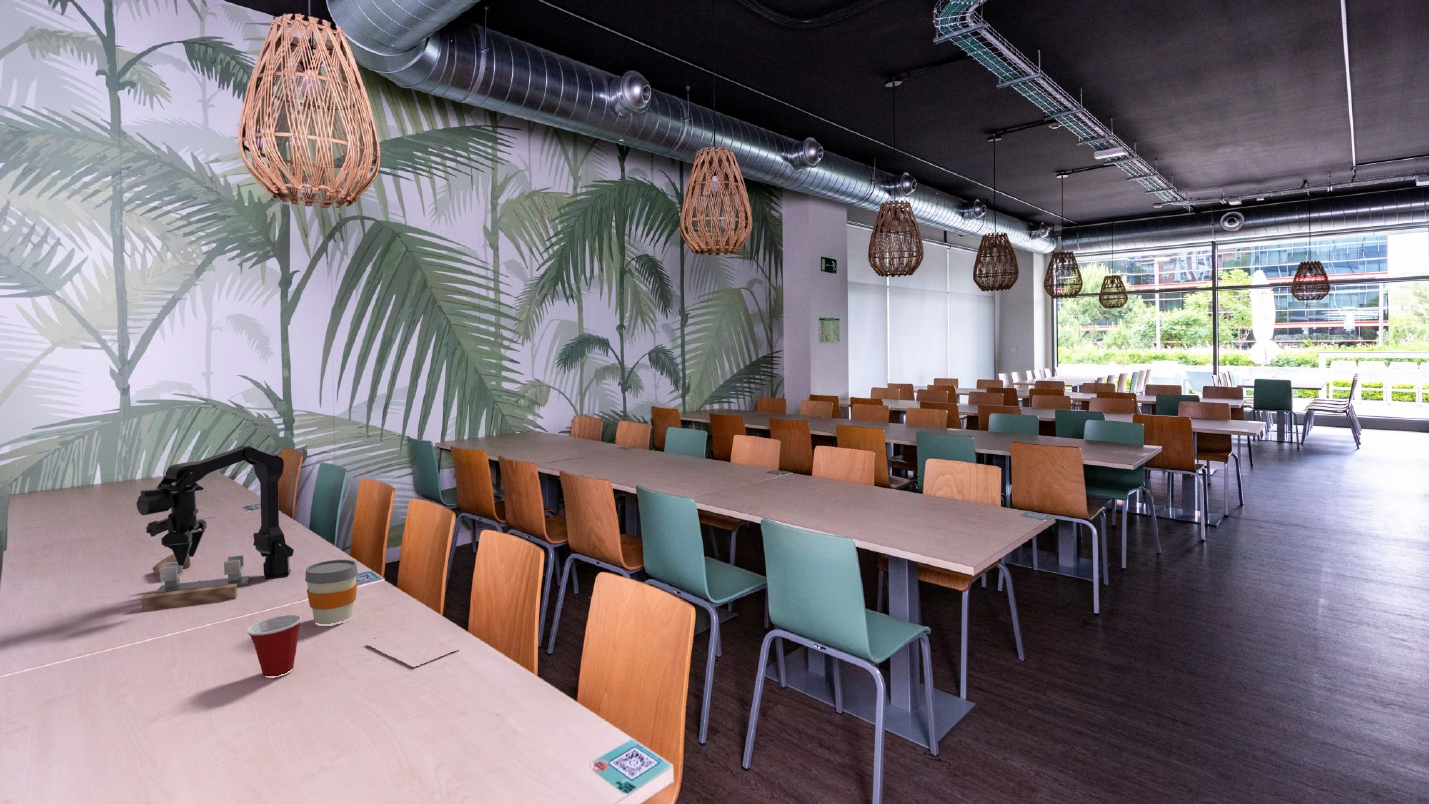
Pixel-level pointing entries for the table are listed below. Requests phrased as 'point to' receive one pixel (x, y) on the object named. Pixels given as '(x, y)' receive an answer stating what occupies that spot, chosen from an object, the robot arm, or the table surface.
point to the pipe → (166, 560)
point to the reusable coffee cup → (332, 590)
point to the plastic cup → (276, 643)
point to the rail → (188, 597)
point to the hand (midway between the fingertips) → (186, 560)
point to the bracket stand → (174, 572)
